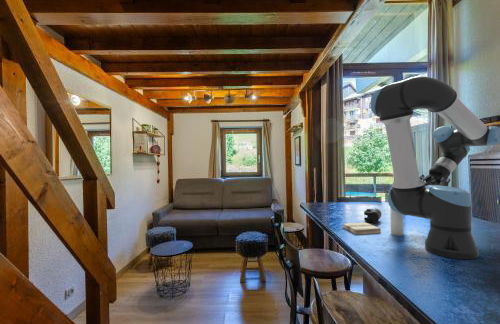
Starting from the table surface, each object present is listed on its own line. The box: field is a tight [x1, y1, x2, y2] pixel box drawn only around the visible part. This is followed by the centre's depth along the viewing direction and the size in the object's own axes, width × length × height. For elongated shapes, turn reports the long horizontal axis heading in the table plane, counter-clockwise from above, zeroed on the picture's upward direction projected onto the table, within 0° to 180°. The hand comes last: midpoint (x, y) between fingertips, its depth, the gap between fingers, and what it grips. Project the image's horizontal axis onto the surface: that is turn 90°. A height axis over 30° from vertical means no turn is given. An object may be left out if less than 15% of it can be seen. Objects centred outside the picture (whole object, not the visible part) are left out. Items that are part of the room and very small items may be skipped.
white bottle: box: [389, 206, 405, 237], centre depth 112 cm, size 5×5×15 cm
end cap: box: [363, 208, 382, 225], centre depth 134 cm, size 10×7×7 cm
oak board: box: [342, 221, 382, 235], centre depth 119 cm, size 12×12×2 cm
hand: (413, 203), depth 113 cm, fingers open, 13 cm apart
